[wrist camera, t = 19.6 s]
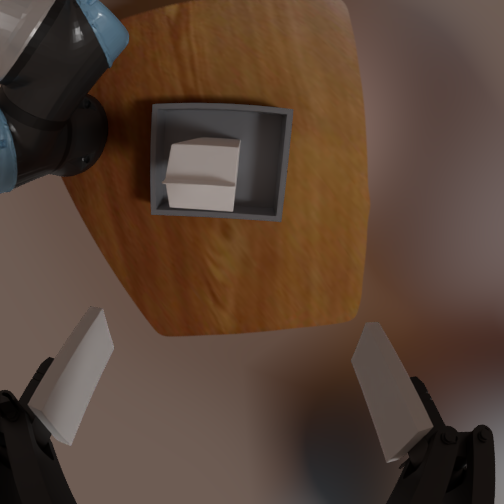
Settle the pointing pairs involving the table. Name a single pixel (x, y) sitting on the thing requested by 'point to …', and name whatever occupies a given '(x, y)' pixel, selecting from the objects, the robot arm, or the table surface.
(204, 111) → the bin
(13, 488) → the robot arm
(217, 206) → the milk
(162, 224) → the table surface
